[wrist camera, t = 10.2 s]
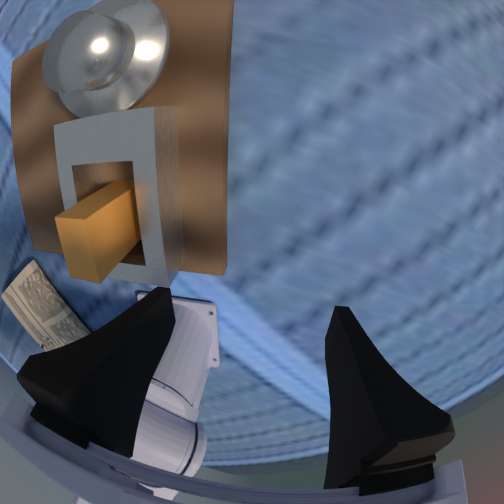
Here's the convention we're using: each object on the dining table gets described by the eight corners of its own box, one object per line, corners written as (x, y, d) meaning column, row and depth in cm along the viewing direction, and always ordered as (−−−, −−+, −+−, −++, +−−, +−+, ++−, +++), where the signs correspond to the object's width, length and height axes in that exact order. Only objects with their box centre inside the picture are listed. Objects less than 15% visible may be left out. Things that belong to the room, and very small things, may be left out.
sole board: (227, 265, 22) (223, 275, 21) (42, 243, 24) (34, 249, 23) (234, -4, 12) (230, -12, 11) (22, 60, 14) (12, 61, 13)
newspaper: (198, 422, 40) (195, 436, 38) (130, 421, 47) (126, 430, 44) (38, 254, 26) (25, 266, 24) (5, 293, 32) (-4, 302, 30)
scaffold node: (189, 261, 21) (159, 312, 16) (100, 250, 22) (60, 290, 16) (188, -5, 11) (149, -40, 6) (86, 24, 12) (31, 14, 7)
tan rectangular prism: (149, 231, 20) (100, 283, 14) (122, 228, 20) (70, 276, 14) (144, 180, 18) (85, 219, 12) (116, 180, 18) (54, 217, 12)
